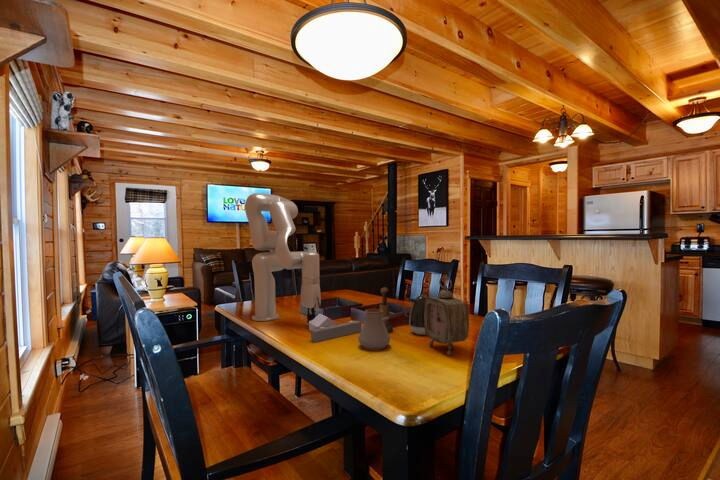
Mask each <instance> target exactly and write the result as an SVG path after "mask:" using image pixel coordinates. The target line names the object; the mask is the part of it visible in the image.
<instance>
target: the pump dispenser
mask: <svg viewBox="0 0 720 480" xmlns="http://www.w3.org/2000/svg"><path fill="white" fill-rule="evenodd" d="M426 298H428V297H427V296H425V295H423V294H421V295H418V296H416V298H412V297H410V298H409V301H410V302H412V306H411V308H410V311H409V312H410V313H409V317H408V319H409V320H408V324H409V326H410V329H411V331H412V332H413V333H414V334H416V335H420V336H425V335H426V333H425V327H424V303H425V299H426ZM426 336H427V335H426Z"/></svg>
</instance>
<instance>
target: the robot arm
mask: <svg viewBox="0 0 720 480" xmlns="http://www.w3.org/2000/svg"><path fill="white" fill-rule="evenodd" d="M244 212H245V214H246V218H247V222H248V225H249V226H248V227H249V232H250V238H251V245H252V247H253V249H255V250H257V251H267V252H259V253H257V254H255V255H254V256H253V258H252V260H251V266H252V270H253V277H254V278H253V279H254V281H253V282H254V310H255V311H254V315H252V316H251V320H252V321H255V322H269V321H274V320H278V319H279V318H280V315H279V314H278V313H276V312H277V311H276V310H277V309H276V308H277V307H276V280H275V277H274V275H273V273H272V272H278V271H282V270H284V269H285V270H295V269H297V270H298V269H301V287H300V305H301V306H302V307H303V308H304V309H306V311H305V312H306V314H307V315H306V319H307V320H306V321H307V322H306V323H308V324H309V321H310V320H313V319H314V318H315V317H316V315H317V312H318V311H320V308H319V307H321V303H322V298H321V297H322V296H321V287H320V284H321V283H320V254H319V253H318V252H315V251H313V252H311V251H310V252H307V251H303V250H301V251H291V250H290V249H289V246H288V238H289V236H292V235H293V234H294V233H295V232H296V230H297V228H296V226H295V223H294V220H293V219H295V218H296V217H297V216H298V213H299V209H298V207H297V205H296V204H295V203H294V201H291V200H289V199H287V198H285V197H282V196H280V195H276V194H272V193H271V194H270V193H269V194H268V193H263V192H262V193H261V192H260V193H259V192H256V193H252V194H250V195H248V196H247V198H246V200H245V203H244ZM262 212H268V213H269V215H270V218H271V220H272V222H273V226H274V228H275V230H269V227H268V226H269V225H268V221H267V219H266V217H265V215H264V214H263V213H262Z"/></svg>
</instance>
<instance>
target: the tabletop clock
mask: <svg viewBox="0 0 720 480" xmlns="http://www.w3.org/2000/svg"><path fill="white" fill-rule="evenodd" d="M443 279H444V280H446V281H447V280H448V282H449V283H450V286H449V287H448V285H446V284H444V285H442V283H441V281H442V280H443ZM438 283H439V287H440V288H441V289H442V290H440V291H439V292H438V294H437V296H435V297H427V298H426V299H425V303H424V327H425V333H426V336H427V337H428V338H429V339H431V340H430V341H429V342H428V345H429V346H430V347H432V346H434V342H437V343H439V344H442V345H445V344H447V345H448V350H447V352H446V354H447V356H452V354H453V351H452V350H453V349H454V348H455V346H454V344H453V343H459V342H465V341H467V339H468V337H469V331H470V311H469V310H470V309H469V305H468V304H467V303H466V302H465V301H463V300H461V299H459V298H457V297H454V293H452V291H450V290H451V288H452V287H453V282H452V280H451V279H450V277H447V276H442V277H440V278H439V282H438Z"/></svg>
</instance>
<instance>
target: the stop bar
mask: <svg viewBox="0 0 720 480" xmlns="http://www.w3.org/2000/svg"><path fill="white" fill-rule="evenodd" d="M361 330H362V321H361V320H360V321H359V320H349V321H348V322H344V323H339V324H338V323H337V325H331V326H329V327H320V328H319V329H314V330H311V331H310V341H311V342H313V343H314V344H315V343H316V344H317V343H320V342H324V341H328V340H332V339H337V338H340V337H341V338H342V337H344V336H345V337H346V336H348V335H353V334H357V333H360V332H361Z"/></svg>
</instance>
